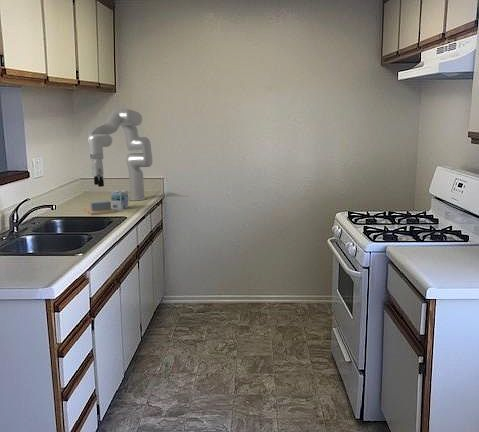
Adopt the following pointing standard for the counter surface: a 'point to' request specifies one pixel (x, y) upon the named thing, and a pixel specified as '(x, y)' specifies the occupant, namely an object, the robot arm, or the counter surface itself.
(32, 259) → the counter surface
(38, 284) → the counter surface
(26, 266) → the counter surface
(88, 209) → the oak board
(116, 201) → the light bulb box
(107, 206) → the sanding block
